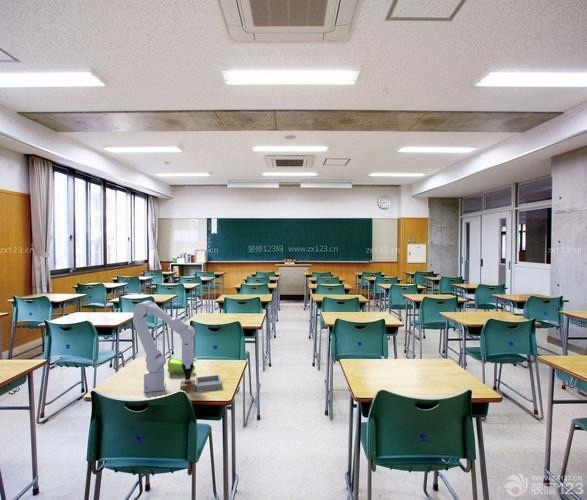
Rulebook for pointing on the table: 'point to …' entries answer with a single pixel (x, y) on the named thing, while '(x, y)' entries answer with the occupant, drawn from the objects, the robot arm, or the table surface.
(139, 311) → the robot arm
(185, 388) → the pin block
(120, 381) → the table surface
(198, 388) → the tray
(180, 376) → the table surface
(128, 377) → the table surface
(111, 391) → the table surface
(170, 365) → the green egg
